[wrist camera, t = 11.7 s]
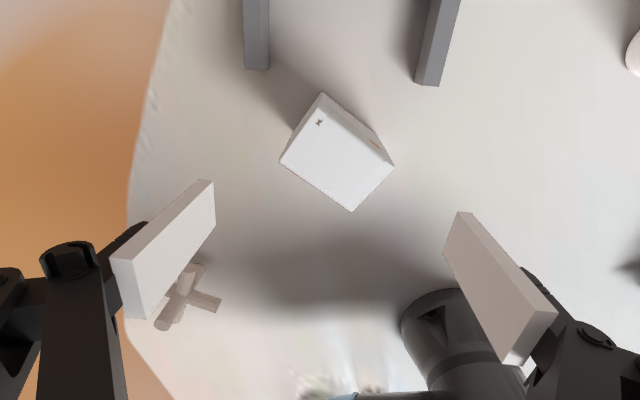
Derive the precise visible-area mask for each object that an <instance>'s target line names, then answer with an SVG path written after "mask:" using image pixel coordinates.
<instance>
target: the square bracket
mask: <svg viewBox="0 0 640 400" xmlns="http://www.w3.org/2000/svg"><path fill="white" fill-rule="evenodd" d="M460 2H461V0H431V3H430V7H429V12H428V17H427V21H426V26H425V31H424V35H423V40H422V45H421V49H420V54H419V59H418V63H417V68H416V73H415V77H414V83H417V84H420V85H425V86H436V87H439V84H440V80H441V76H442V72H443V68H444V65H445V61H446V57H447V53H448V49H449V45H450V41H451V37H452V33H453V29H454V25H455V21H456V17H457V13H458V10H459V6H460ZM242 7H243V36H244V65H245V69H254V70H265V69H269V0H242Z"/></svg>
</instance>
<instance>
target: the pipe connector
mask: <svg viewBox="0 0 640 400" xmlns="http://www.w3.org/2000/svg"><path fill="white" fill-rule="evenodd" d="M204 271H205V268H204V267H203V266H202V265H200V264H193V263H188V264H187V265H186V267H185V268H184V269H183V271H182V272H181V273H180V275H179V278H178V282H177V284H175V283H173V284H172V286H171V287H170V288H169V290H168V291H167V292H166V294H165V295H164V296H167V297H170V298H171V299H170V300H169V301H168V303H167V304H166V306H165V307H164V309H163V310H162V312H161V313H160V314H159V316H158V317H157V319H156V320H155V322H154V326H155V328H157V329H158V330H161V331H166V330H168V329H169V328H170V326H171V324H172V323H173V324H176V323H178V322H180V321H181V319H182V315H183V312H184V309H185V306H186V303H187V304H190V305H193V306H196V307H199V308H202V309H205V310H208V311H211V312H214V313H216V311H217V309H218V307H219V305H220V302H221V299H218V298H215V297H213V296H210V295H207V294H204V293H201V292H198V291H195V290H193V289H194V287H195V286H196V284H197V283H198V281H199V279H200V278H201V276H202V275H203V273H204Z"/></svg>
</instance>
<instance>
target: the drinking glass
mask: <svg viewBox="0 0 640 400" xmlns="http://www.w3.org/2000/svg"><path fill="white" fill-rule="evenodd" d="M625 61H626V66H627V68H628V70H629V71H630V72H631V73H632V74H634V75H636V76H638V77H640V30H639V31H638V32H637V33H636V35H635V36H634V37H633V39H632V40H631V42H630V44H629V46H628V48H627V51H626V57H625Z"/></svg>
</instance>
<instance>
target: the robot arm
mask: <svg viewBox="0 0 640 400" xmlns="http://www.w3.org/2000/svg"><path fill="white" fill-rule="evenodd" d="M215 226H216V217H215V201H214V186H213V181H208V180H200V179H199V180H198V181H197V182H195V183H194V184H193V185H192V186H191V187H190V188H188V189H187V190H186V191H185V192H184V193H183V194H181V195H180V196H179V197H178V198H177V199H176V200H174V201H173V202H172V203H171V204H170V205H169V206H168V207H166V208H165V209H164V210H163V211H162V212H161V213H159V214H158V215H157V216H156V217H155V218H154V219H152V220H151V221H150V222H146V221H142V222H140V223H138V224H136V225H134V226H131V227H130V228H129V229H127V230H126V231H125V232H124V233H123V234H122V235H120V236H119V237H118V238H116V239H115V241H113V242H111V243H110V244H109V245H108V246H107V247H105V248H104V249H103V250H101V251H100V252H99V253H98V254H96V253H95V249H94V246H93V245H92V244H91V243H89V242H86V241H72V242H67V243H63V244H60V245H57V246H55V247H52V248H50V249H48V250H47V251H46V252H44V253H43V254H42V255H41V256H40V258H39V262H40V264H41V267H42V269H43V271H44V273H45V276H46V277H41V278H31V279H24V276H23V274H22V273H21V271H20V270H19V269H17V268H13V267H8V268H0V400H17V399H18V397H19V395H20V393H21V391H22V388H23V386H24V384H25V382H26V380H27V377H28V375H29V373H30V371H31V369H32V367H33V364H34V362H35V360H36V358H37V355H38V354H39V351H40V349H41V351H40V361H39V372H38V381H37V391H36V400H128V395H127V388H126V381H125V375H124V368H123V362H122V355H121V348H120V341H119V334H118V328H117V321H116V318H115V314H116V312H117V311H118V310H119V309H120V308H121V307H122V306H123V310H124V313H125V317H128V318H136V319H144V320H147V318H148V317H149V315H150V314H151V313H152V311H153V310H154V309H155V307H156V306H157V305H158V303H159V302H160V300H161V299H162V298H163V296H164V295H165V294H166V292H167V291H168V290H169V288H170V287H171V286H172V284H173V283H174V281H175V280H176V279H177V277H178V276H179V275H180V273H181V272H182V271H183V269H184V268H185V267H186V265H187V264H188V262H189V261H190V260H191V258H192V257H193V256H194V254H195V253H196V252H197V250H198V249H199V247H200V246H201V245H202V243H203V242H204V241H205V239H206V238H207V237H208V235H209V234H210V233H211V231H212V230H213V228H214V227H215ZM442 254H443V256H444V258H445V260H446V262H447V263H448V265H449V267H450V269H451V271H452V273H453V275H454V276H455V278H456V280H457V282H458V284H459V286H460V287H461V289H458V288H456V289H445V290H440V291H436V292H433V293H430V294H428V295H426V296H424V297H422V298H420V299H418V300H417V301H416V302H414V303H413V304H412V305H411V306H410V307H409V308H408V309H407V310H406V312H405V313H404V315H403V317H402V320H401V324H400V330H401V335H402V339H403V343H404V346H405V348H406V350H407V352H408V353H409V355H410V356H411V358H412V360H413V361H414V363H415V365H416V366H417V368H418V369H419V371H420V373H421V374H422V376H423V377H424V379H425V381H426V384H427V387H428V390H429V391H421V392H420V391H418V392H394V393H371V394H359V393H358V392H354V393H353V394H349V395H340V396H331V397H328V398H326V399H325V400H640V355H639V354H636V353H633V352H631V351H628V350H625V349H622V348H619V347H617V346H616V344H615V343H614V342H613V341H612V340H611V339H610V338H609V337H608V336H607V335H606V334H604V333H603V332H602V331H600V330H599V329H597V328H595V327H593V326H592V325H589V324H587V323H584V322H581V321H576V320H575V319H574V318H573V317H572V316H571V315H570V314H569V313H568V312H567V311H566V310H565V309H564V307H563V306H562V305H561V304H560V303H559V302H558V301H557V300H556V299H555V298H554V296H553V295H550V292H549V291H548V290H547V289H546V288H545V287H543V284H542V283H541V282H540V281H539V280H538V279H537V278H536V277H535V276H534V275H533V274H531V273H530V272H529V271H527V270H526V269H524V268H523V267H519V266H518V265H517V264H516V263H515V262H514V261H513V260H512V258H511V257H510V256H509V255H508V254H507V253H506V252H505V251H504V249H503V248H502V247H501V246H500V245H499V244H498V243H497V241H496V240H495V239H494V238H493V237H492V236H491V235H490V233H489V232H488V231H487V230H486V229H485V228H484V227H483V225H482V224H481V223H480V222H479V221H478V220H477V219H476V217H475V216H474V215H473V214H472V213H467V212H459V211H457V214H456V217H455V219H454V222H453V225H452V227H451V230H450V232H449V235H448V238H447V240H446V243H445V246H444V248H443V251H442ZM529 356H531V357H532V359H533V360H534V362H535V363H536V365H537V366H536V367H535V369H534V370H533V371H532V373H531V374H530V376H529V377H528V378H527V379H526V377H525V376H524V374H523V372H522V370H521V369H520V367H519V366H523V365H524V363H525V362H526V361H527V359H528V358H529Z"/></svg>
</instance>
